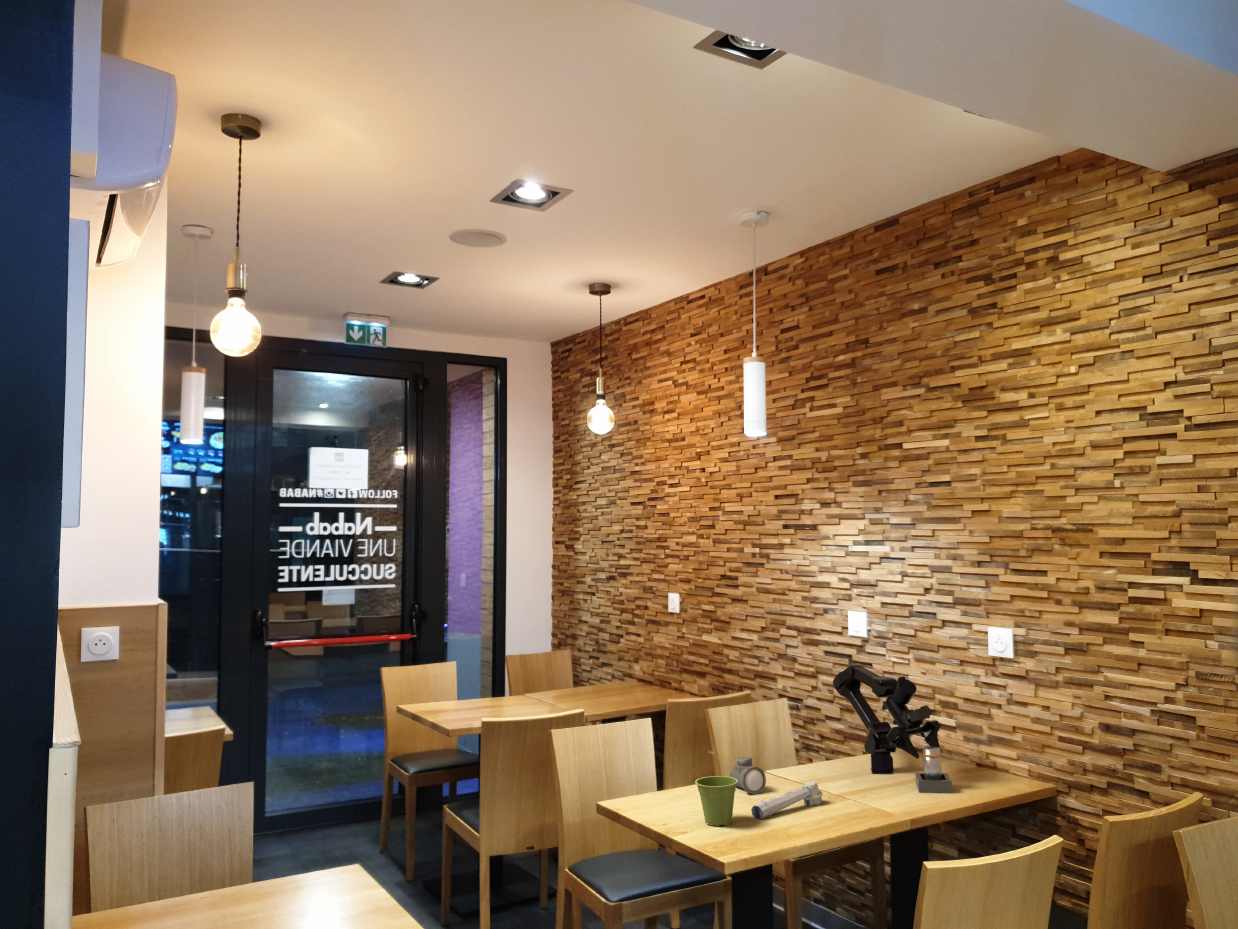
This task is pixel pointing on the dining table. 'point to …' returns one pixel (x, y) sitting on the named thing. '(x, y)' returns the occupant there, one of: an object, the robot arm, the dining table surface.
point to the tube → (932, 763)
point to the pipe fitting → (748, 776)
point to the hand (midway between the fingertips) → (929, 755)
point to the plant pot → (717, 798)
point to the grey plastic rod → (788, 800)
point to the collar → (933, 784)
